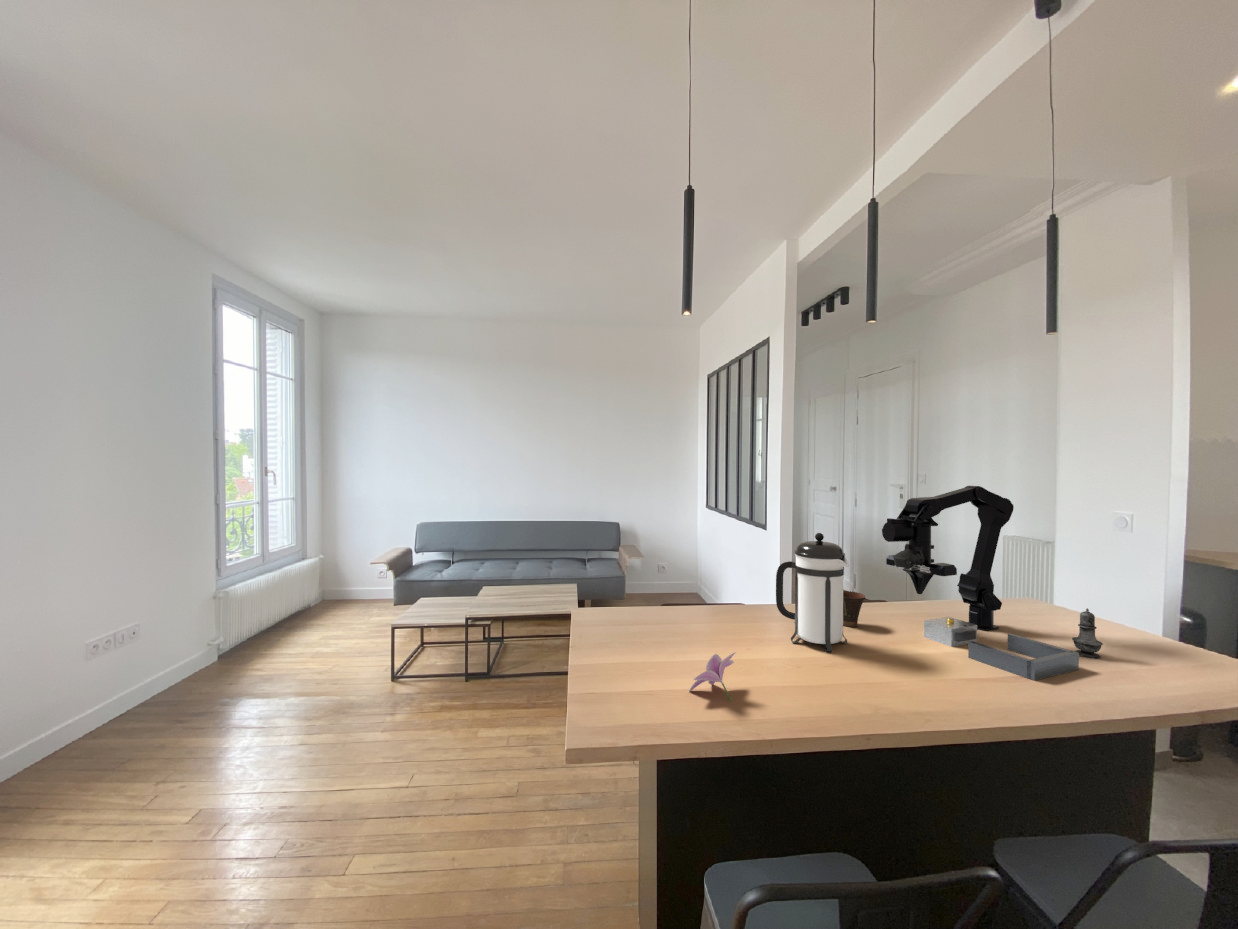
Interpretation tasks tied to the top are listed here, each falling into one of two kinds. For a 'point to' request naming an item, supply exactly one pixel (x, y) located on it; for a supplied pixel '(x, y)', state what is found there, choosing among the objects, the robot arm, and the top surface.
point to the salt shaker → (1087, 637)
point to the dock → (1044, 665)
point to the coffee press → (816, 592)
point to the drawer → (950, 631)
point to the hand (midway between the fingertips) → (919, 594)
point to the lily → (714, 671)
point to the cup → (851, 607)
